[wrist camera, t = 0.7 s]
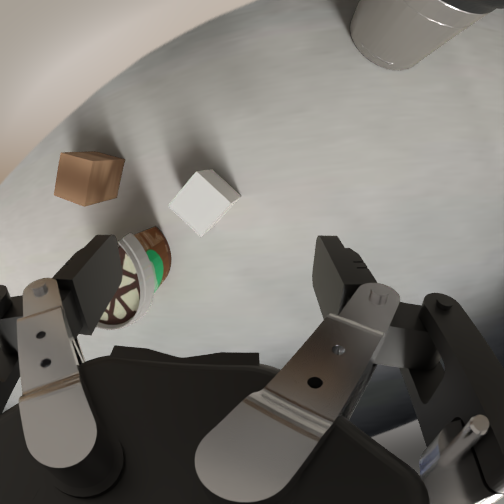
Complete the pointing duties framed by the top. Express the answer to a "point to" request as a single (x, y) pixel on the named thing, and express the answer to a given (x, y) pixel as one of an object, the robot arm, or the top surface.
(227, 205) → the grey plastic block
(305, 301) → the top surface
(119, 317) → the food container
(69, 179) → the walnut block
